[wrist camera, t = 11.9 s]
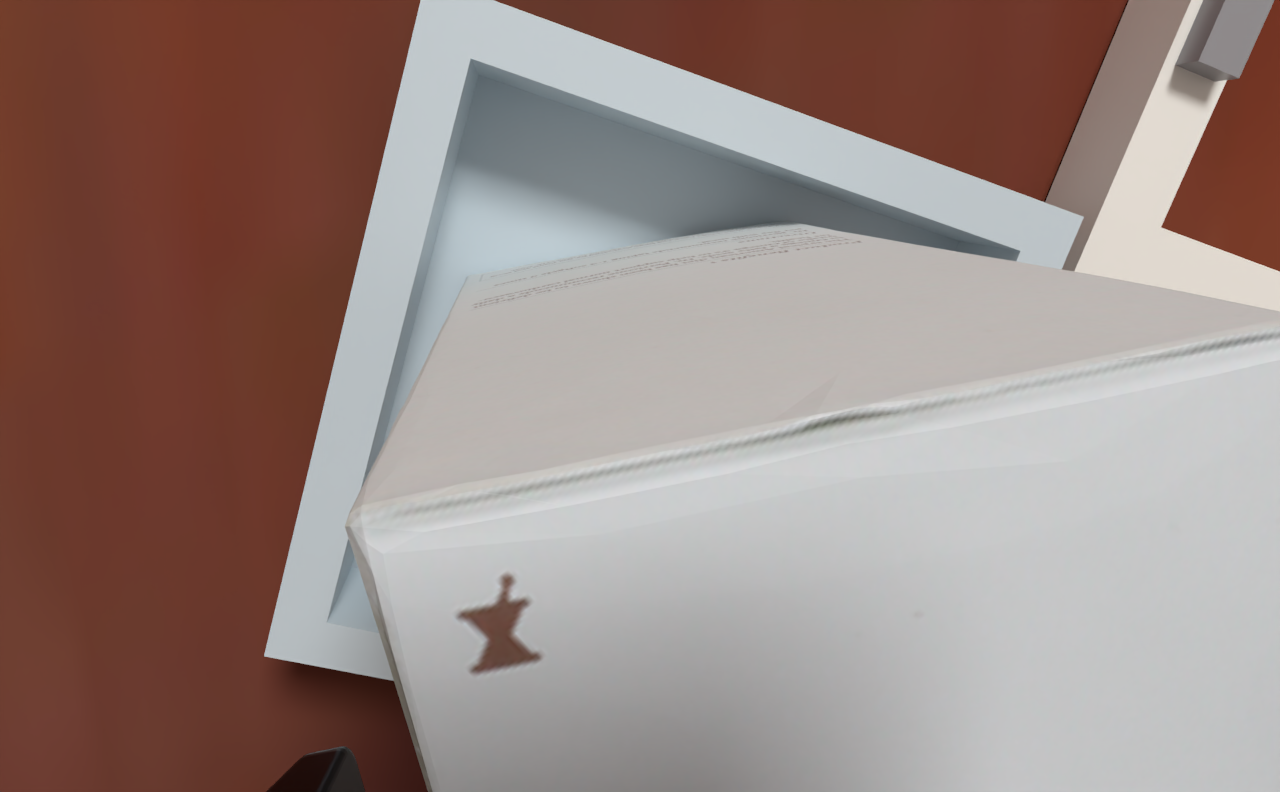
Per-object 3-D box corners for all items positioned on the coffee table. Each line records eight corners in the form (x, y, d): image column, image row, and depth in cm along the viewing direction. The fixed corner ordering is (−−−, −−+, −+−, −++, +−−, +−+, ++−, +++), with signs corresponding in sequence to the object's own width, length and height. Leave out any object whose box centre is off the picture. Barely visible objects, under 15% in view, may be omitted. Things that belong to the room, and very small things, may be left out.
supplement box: (525, 582, 19) (526, 1277, 7) (459, 268, 17) (304, 496, 5) (828, 522, 20) (1299, 1064, 8) (800, 212, 18) (1381, 298, 6)
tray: (999, 210, 19) (1083, 216, 16) (806, 689, 22) (849, 766, 19) (443, 10, 16) (426, -24, 14) (303, 583, 19) (264, 656, 16)
